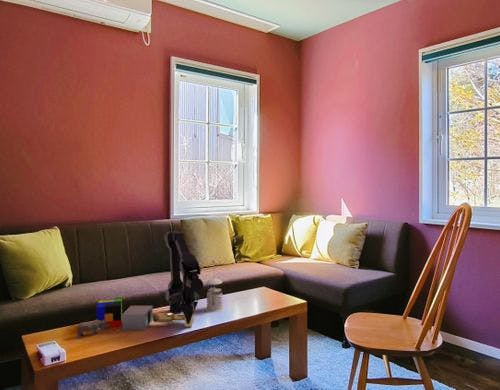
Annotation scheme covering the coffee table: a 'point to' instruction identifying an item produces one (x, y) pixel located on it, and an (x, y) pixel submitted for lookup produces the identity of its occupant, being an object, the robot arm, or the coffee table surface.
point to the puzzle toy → (110, 312)
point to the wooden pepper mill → (171, 318)
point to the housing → (137, 318)
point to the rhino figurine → (91, 327)
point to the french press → (214, 295)
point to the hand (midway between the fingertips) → (189, 321)
